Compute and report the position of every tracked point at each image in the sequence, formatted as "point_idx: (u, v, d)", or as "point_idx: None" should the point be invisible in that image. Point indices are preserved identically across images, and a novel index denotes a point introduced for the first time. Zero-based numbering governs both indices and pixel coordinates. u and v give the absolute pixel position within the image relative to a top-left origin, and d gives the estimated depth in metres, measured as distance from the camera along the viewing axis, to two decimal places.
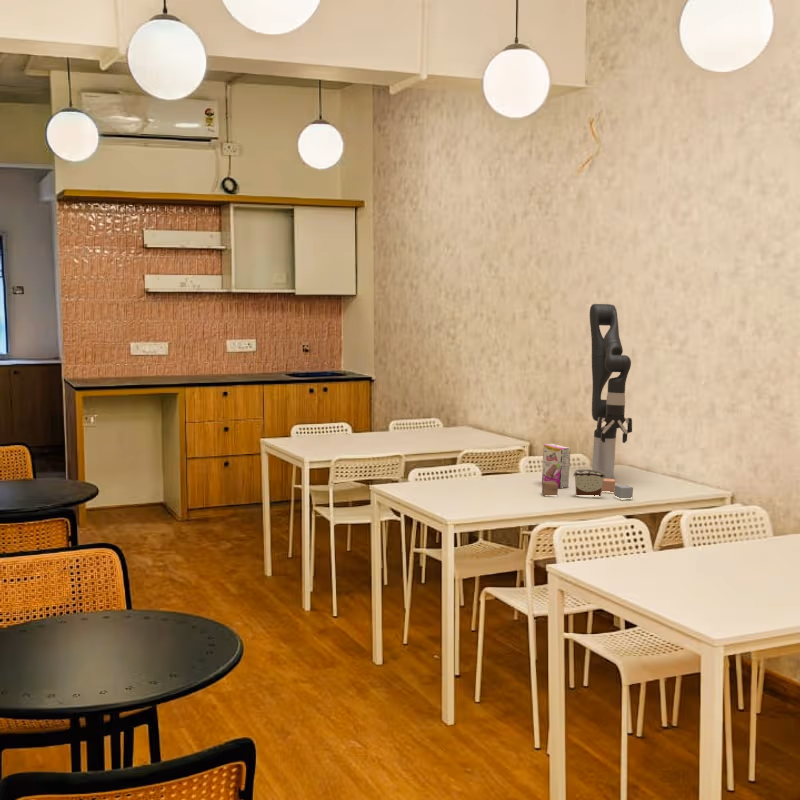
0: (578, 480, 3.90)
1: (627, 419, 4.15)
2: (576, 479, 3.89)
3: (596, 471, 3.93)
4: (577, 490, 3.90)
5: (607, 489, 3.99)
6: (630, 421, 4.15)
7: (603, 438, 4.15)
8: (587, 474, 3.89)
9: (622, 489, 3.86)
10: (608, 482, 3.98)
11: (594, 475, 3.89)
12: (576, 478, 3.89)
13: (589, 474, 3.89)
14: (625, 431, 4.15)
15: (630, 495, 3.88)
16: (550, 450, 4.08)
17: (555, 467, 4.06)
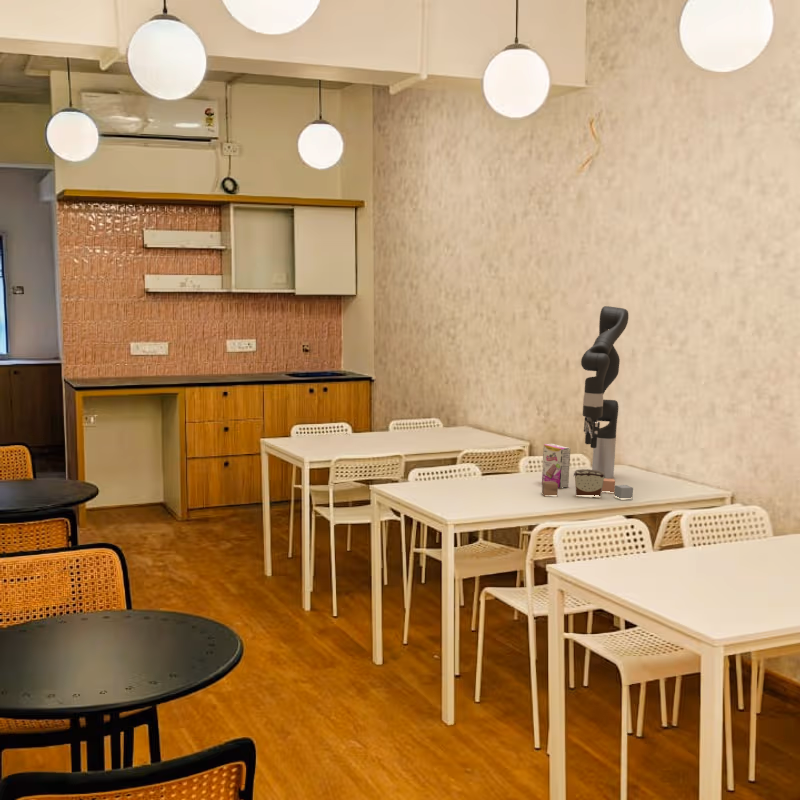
0: (578, 480, 3.90)
1: None
2: (576, 479, 3.89)
3: (596, 471, 3.93)
4: (577, 490, 3.90)
5: (607, 489, 3.99)
6: None
7: (596, 443, 3.86)
8: (587, 474, 3.89)
9: (622, 489, 3.86)
10: (608, 482, 3.98)
11: (594, 475, 3.89)
12: (576, 478, 3.89)
13: (589, 474, 3.89)
14: None
15: (630, 495, 3.88)
16: (550, 450, 4.08)
17: (555, 467, 4.06)
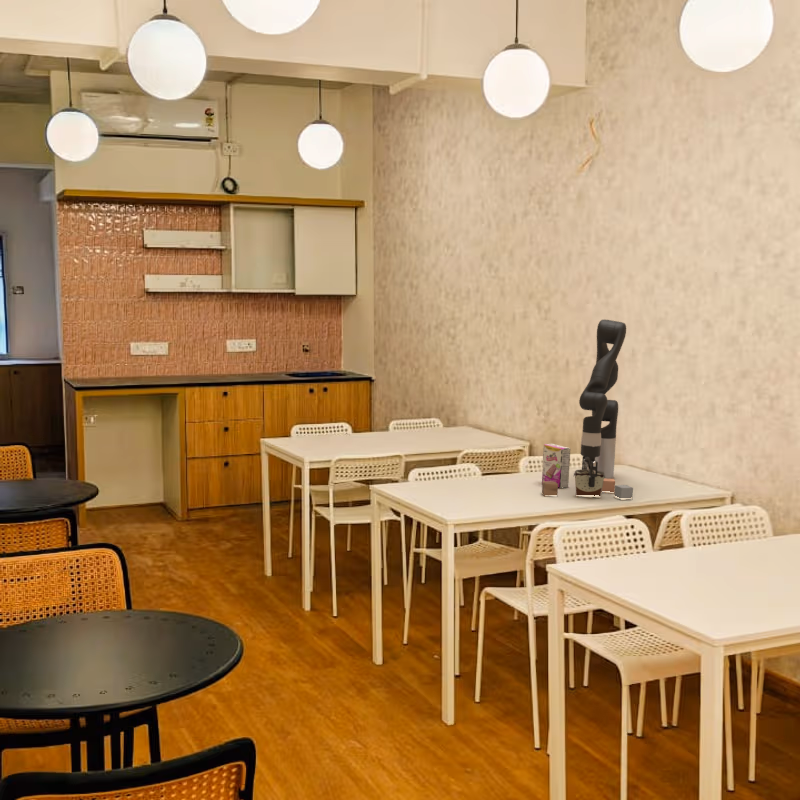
0: (578, 480, 3.90)
1: None
2: (576, 479, 3.89)
3: None
4: (577, 490, 3.90)
5: (607, 489, 3.99)
6: None
7: (594, 482, 3.87)
8: (587, 474, 3.89)
9: (622, 489, 3.86)
10: (608, 482, 3.98)
11: None
12: (576, 478, 3.89)
13: None
14: None
15: (630, 495, 3.88)
16: (550, 450, 4.08)
17: (555, 467, 4.06)
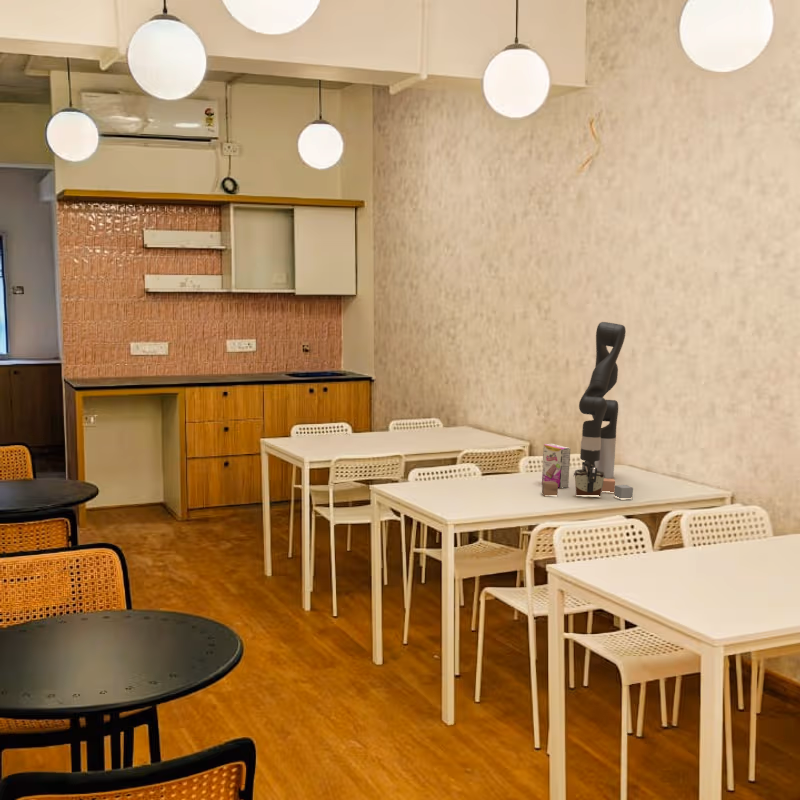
0: (578, 480, 3.90)
1: None
2: (576, 479, 3.90)
3: None
4: (577, 490, 3.90)
5: (607, 489, 3.99)
6: None
7: (592, 488, 3.89)
8: None
9: (622, 489, 3.86)
10: (608, 482, 3.98)
11: None
12: (576, 478, 3.89)
13: None
14: None
15: (630, 495, 3.88)
16: (550, 450, 4.08)
17: (555, 467, 4.06)
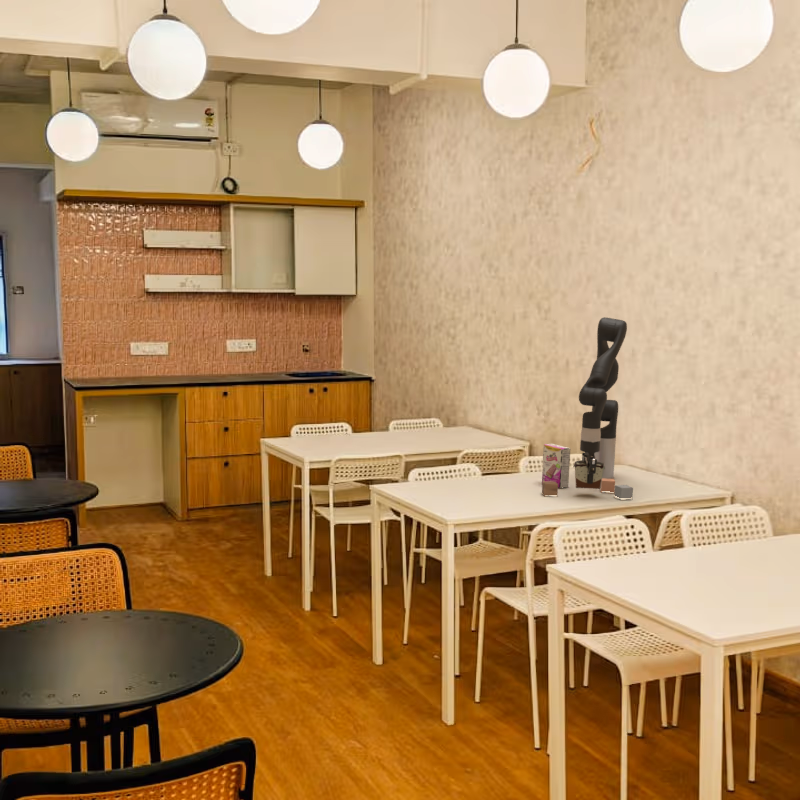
0: (577, 472, 3.90)
1: None
2: (576, 470, 3.90)
3: None
4: (577, 481, 3.91)
5: (607, 489, 3.99)
6: None
7: (592, 479, 3.89)
8: None
9: (622, 489, 3.86)
10: (608, 482, 3.98)
11: None
12: (576, 469, 3.90)
13: None
14: None
15: (630, 495, 3.88)
16: (550, 450, 4.08)
17: (555, 467, 4.06)
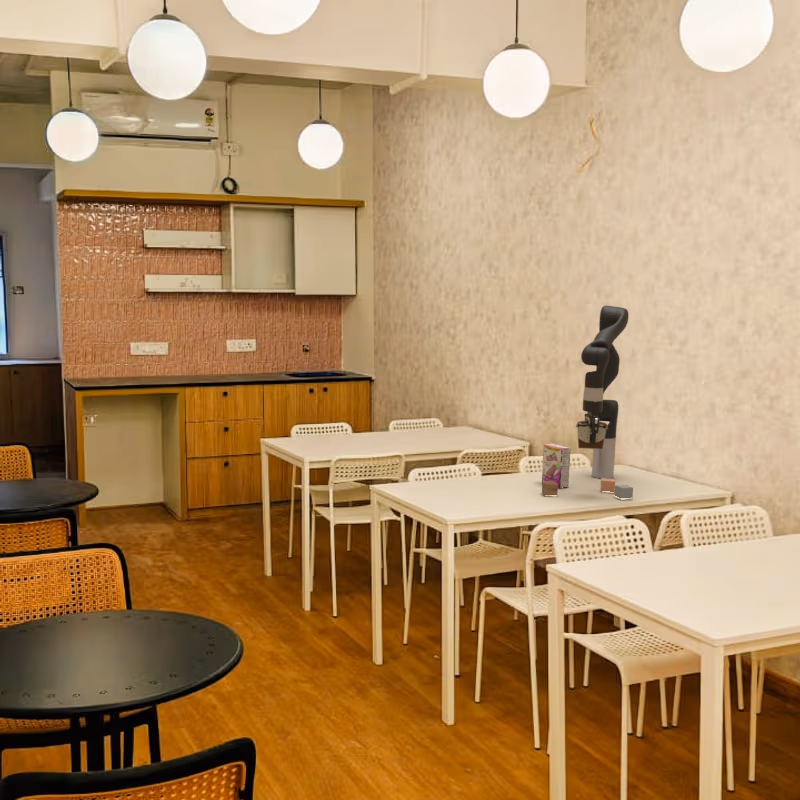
0: (580, 432, 3.88)
1: None
2: (578, 430, 3.88)
3: None
4: (579, 441, 3.88)
5: (607, 489, 3.99)
6: None
7: (595, 439, 3.87)
8: None
9: (622, 489, 3.86)
10: (608, 482, 3.98)
11: None
12: (578, 429, 3.88)
13: (591, 425, 3.87)
14: None
15: (630, 495, 3.88)
16: (550, 450, 4.08)
17: (555, 467, 4.06)
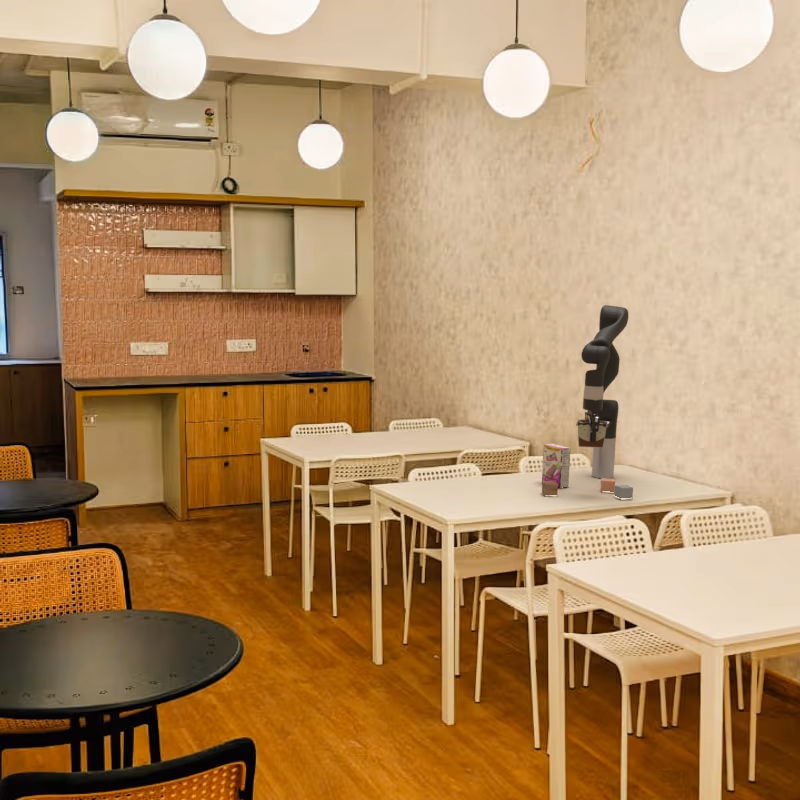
0: (580, 430, 3.88)
1: None
2: (579, 429, 3.88)
3: None
4: (580, 440, 3.88)
5: (607, 489, 3.99)
6: None
7: (595, 437, 3.87)
8: None
9: (622, 489, 3.86)
10: (608, 482, 3.98)
11: None
12: (579, 428, 3.88)
13: None
14: None
15: (630, 495, 3.88)
16: (550, 450, 4.08)
17: (555, 467, 4.06)
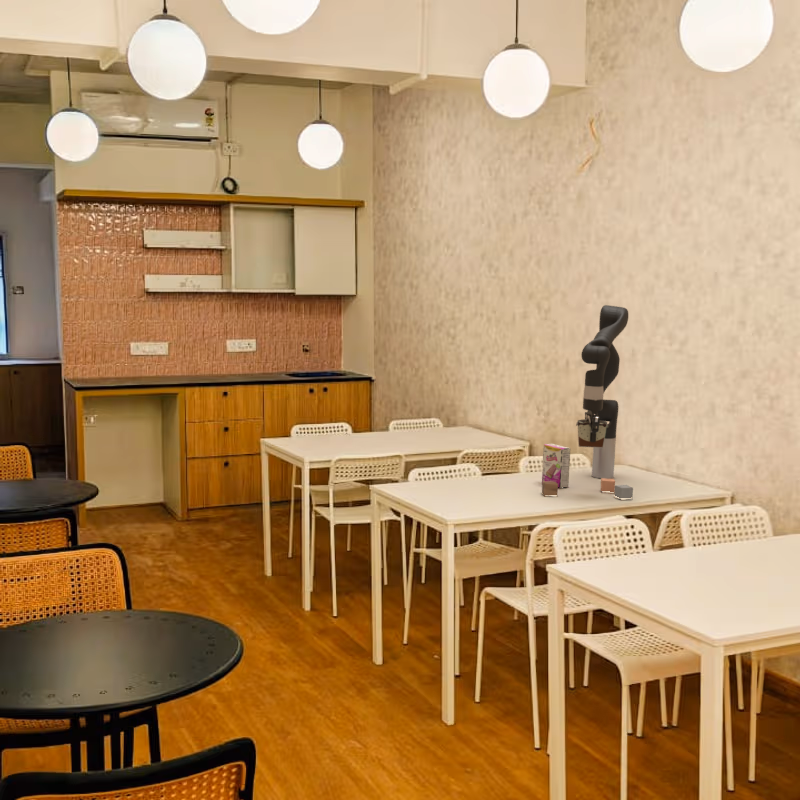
0: (580, 430, 3.88)
1: None
2: (579, 429, 3.88)
3: None
4: (580, 440, 3.88)
5: (607, 489, 3.99)
6: None
7: (595, 437, 3.87)
8: None
9: (622, 489, 3.86)
10: (608, 482, 3.98)
11: None
12: (579, 428, 3.88)
13: None
14: None
15: (630, 495, 3.88)
16: (550, 450, 4.08)
17: (555, 467, 4.06)
